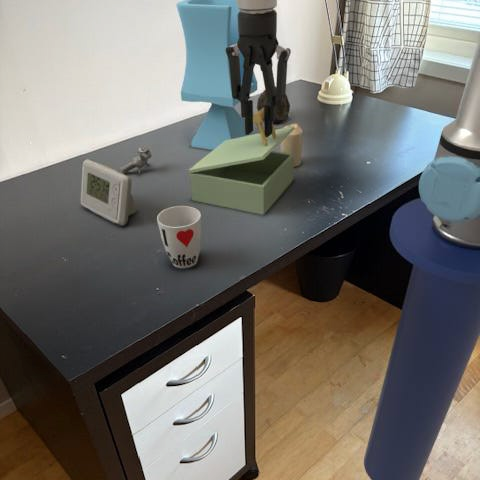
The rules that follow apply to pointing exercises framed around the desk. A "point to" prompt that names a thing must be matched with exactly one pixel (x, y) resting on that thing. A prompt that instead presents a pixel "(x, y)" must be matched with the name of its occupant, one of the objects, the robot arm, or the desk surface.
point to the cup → (181, 234)
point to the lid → (244, 147)
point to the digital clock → (106, 192)
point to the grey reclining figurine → (138, 161)
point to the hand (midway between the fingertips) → (258, 133)
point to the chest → (245, 183)
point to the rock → (281, 108)
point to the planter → (212, 68)
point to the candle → (293, 144)
